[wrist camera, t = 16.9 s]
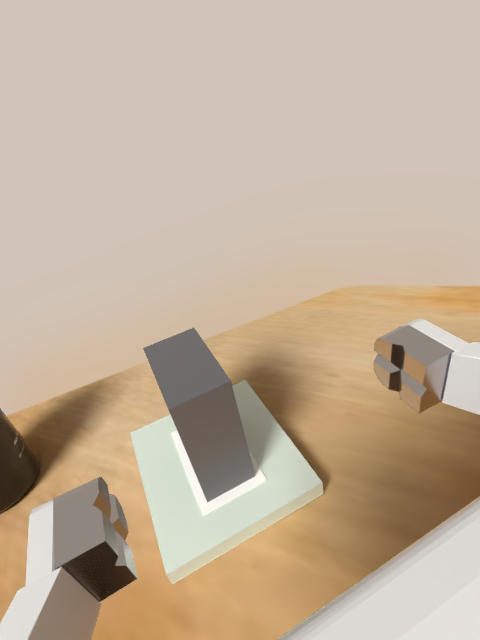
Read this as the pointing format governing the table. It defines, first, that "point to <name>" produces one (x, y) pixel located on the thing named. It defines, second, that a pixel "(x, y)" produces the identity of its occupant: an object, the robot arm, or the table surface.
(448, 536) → the robot arm
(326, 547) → the table surface
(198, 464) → the block
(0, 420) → the supplement bottle
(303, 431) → the table surface
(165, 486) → the pin board
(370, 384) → the table surface
